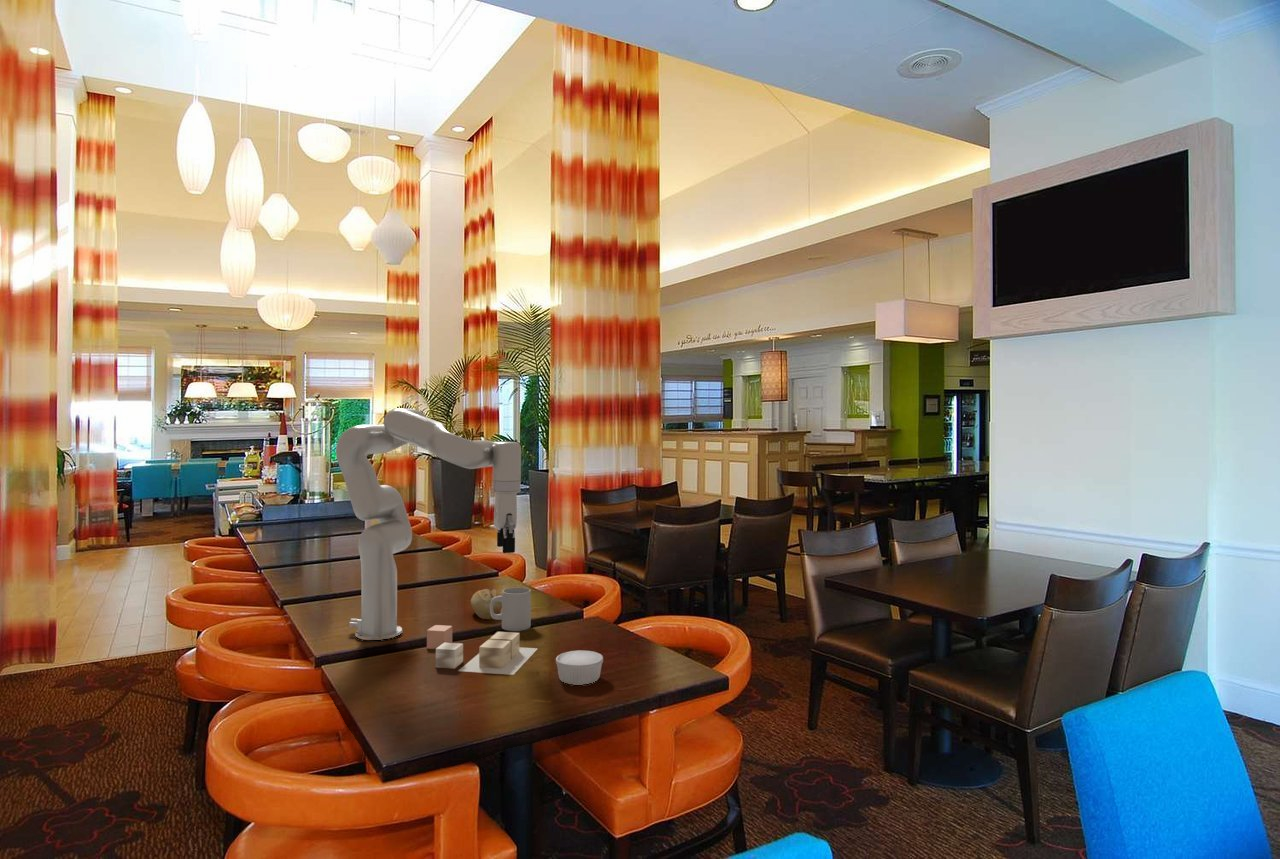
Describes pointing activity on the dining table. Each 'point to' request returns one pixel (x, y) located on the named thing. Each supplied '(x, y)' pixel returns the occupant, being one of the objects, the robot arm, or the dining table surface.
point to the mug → (514, 609)
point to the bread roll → (485, 603)
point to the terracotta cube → (438, 636)
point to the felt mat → (508, 669)
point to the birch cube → (449, 655)
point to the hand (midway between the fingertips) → (505, 549)
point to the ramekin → (579, 667)
